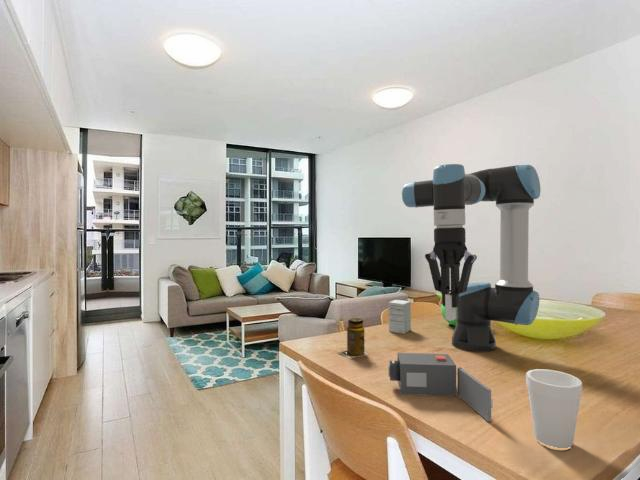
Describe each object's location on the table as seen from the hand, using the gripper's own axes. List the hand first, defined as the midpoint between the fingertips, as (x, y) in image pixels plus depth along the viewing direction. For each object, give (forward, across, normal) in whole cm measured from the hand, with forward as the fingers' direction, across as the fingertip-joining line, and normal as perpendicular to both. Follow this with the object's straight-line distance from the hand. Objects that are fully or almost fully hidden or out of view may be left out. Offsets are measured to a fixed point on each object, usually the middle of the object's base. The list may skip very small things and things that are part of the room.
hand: (450, 319), depth 95 cm
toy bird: (+22, -31, +71) cm, 81 cm away
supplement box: (+22, -45, +45) cm, 68 cm away
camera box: (+20, -9, -1) cm, 22 cm away
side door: (+20, +7, -2) cm, 21 cm away
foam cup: (+20, +24, -6) cm, 32 cm away
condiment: (+21, -40, +9) cm, 46 cm away
